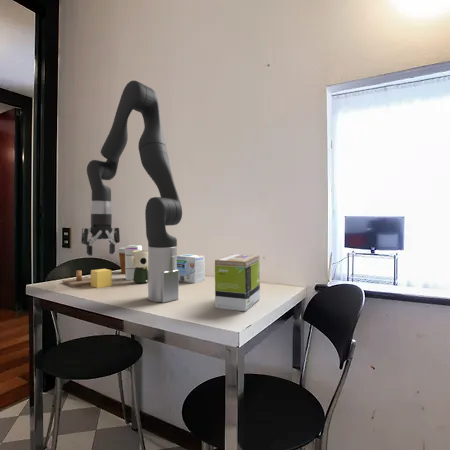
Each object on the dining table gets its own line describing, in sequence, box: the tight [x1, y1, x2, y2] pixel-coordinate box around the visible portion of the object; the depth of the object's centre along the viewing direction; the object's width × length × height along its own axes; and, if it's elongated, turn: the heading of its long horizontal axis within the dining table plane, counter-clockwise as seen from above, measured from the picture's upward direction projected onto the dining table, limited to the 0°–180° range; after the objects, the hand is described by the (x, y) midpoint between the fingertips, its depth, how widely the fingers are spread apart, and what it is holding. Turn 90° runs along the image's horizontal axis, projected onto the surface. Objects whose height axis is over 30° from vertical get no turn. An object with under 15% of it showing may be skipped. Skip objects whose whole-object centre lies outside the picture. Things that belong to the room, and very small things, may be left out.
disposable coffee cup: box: [117, 246, 126, 275], centre depth 149 cm, size 10×10×12 cm
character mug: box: [131, 249, 148, 284], centre depth 127 cm, size 11×7×13 cm, turn 149°
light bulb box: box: [177, 253, 206, 284], centre depth 132 cm, size 11×7×11 cm, turn 56°
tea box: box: [214, 253, 261, 312], centre depth 97 cm, size 15×10×15 cm
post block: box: [62, 269, 91, 288], centre depth 125 cm, size 12×10×5 cm
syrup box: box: [124, 244, 143, 281], centre depth 134 cm, size 6×6×14 cm
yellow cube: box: [90, 268, 113, 289], centre depth 121 cm, size 6×6×6 cm
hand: (101, 254), depth 121 cm, fingers open, 8 cm apart
